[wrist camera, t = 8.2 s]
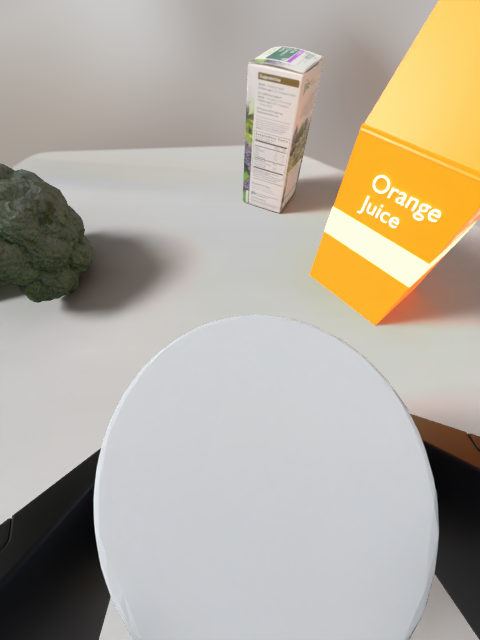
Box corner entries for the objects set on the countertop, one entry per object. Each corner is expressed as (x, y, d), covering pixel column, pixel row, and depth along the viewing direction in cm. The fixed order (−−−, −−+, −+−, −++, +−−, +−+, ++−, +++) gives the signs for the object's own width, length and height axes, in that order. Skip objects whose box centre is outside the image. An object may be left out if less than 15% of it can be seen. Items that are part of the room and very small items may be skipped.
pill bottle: (333, 485, 13) (607, 478, 4) (237, 605, 11) (262, 1603, 1) (248, 389, 16) (269, 233, 6) (155, 470, 14) (-52, 424, 4)
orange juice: (375, 326, 26) (640, 27, 9) (308, 274, 29) (405, -11, 12) (416, 287, 29) (680, 0, 12) (350, 244, 32) (479, -25, 15)
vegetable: (-31, 223, 30) (61, 145, 27) (50, 313, 34) (138, 255, 31) (-199, 229, 19) (-79, 96, 15) (-50, 363, 23) (72, 281, 19)
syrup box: (259, 182, 39) (270, 43, 27) (296, 193, 38) (326, 52, 25) (242, 202, 36) (244, 58, 24) (281, 215, 35) (305, 69, 23)
